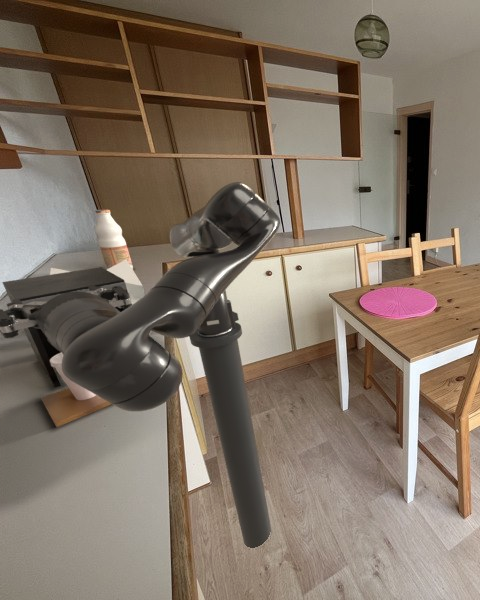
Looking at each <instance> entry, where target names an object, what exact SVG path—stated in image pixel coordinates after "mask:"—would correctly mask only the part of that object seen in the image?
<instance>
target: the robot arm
mask: <svg viewBox="0 0 480 600" xmlns="http://www.w3.org/2000/svg"><path fill="white" fill-rule="evenodd" d="M280 226H281V219H280V216H279V215H278V214H277V213H276V212H275V210H274V209H273V208H272V207H271V206H269V204H267V202H266V201H264V199H263V198H262V197H260V195H259V194H258V193H257V192H256V191H254V190H253V188H251V186H249V185H247V184H245V183H244V182H241V181H235V182H232V183H228V184H226V185H224V186H223V187H221V188H220V189H218V191H216V192H215V193H214V194H213V195H212V196H211V198H210V199H209V200H208V201H207V202H206V203H205V205H204V206H203V207H201V208H199V209H198V210H197V211H195V212H194V213H192V215H190V217H188V218H187V219H185V220H184V221H183V222H181V223H175V224H174V225H173V226H172V227H171V228H170V231H169V242H170V245H171V247H172V249H173V252H175V253H176V255H178V256H179V257H182V258H186V259H183V260H181V261H180V262H178V263H176V264H174V265H173V266H172V267H170V269H169V270H167V271H166V273H164V274H163V275H162V277H161V278H160V279H159V280H157V282H155V284H154V285H153V286H152V288H150V290H148V292H147V293H145V296H144V297H143V298H141V299H140V300H139V301H137V302H136V303H134V304H133V305H132V302H131V299H130V296H129V293H128V292H127V291H125V290H124V289H123V288H122V287H121V286H114V287H112V290H106V288H102V287H96V286H94V285H90V286H88V288H89V291H87V292H69V293H64V294H61V295H58V296H56V297H54V298H52V299H50V300H49V301H48V302H36V301H34V302H31V303H28V304H23V303H22V302H21V301H20V299H19V298H18V299H13V300H12V301H13V303H12V302H8V303H6V306H7V308H8V309H6V310H4V309H2V308H0V335H2V337H4V339H12V338H15V337H17V336H19V335H20V334H19V333H21V332H22V330H24V328H28V327H34V328H36V329H41V330H42V332H43V333H44V334H45V336H46V337H47V338H48V342H49V343H50V344H51V345H52V346H54V347H55V348H56V349H57V350H59V351H60V352H62V354H63V359H62V371H63V373H64V375H65V376H66V377H67V378H68V379H70V380H71V381H73V382H74V383H76V384H78V385H80V386H81V387H83V388H85V389H87V390H89V391H90V392H92V393H94V394H95V395H97V396H99V397H101V398H102V399H104V400H106V401H108V402H109V403H111V405H113V406H115V407H116V408H119V409H121V410H123V411H127V412H137V413H138V412H144V411H145V412H146V411H149V410H152V409H155V408H158V407H159V406H162V405H164V404H165V403H166V402H167V401H169V400H170V399H172V397H173V396H174V395H175V394H176V393H177V391H178V390H179V388H180V386H181V384H182V381H183V373H184V372H183V367H182V364H181V362H180V360H179V359H178V358H177V357H176V356H175V355H174V354H173V353H171V352H170V351H169V350H167V349H166V348H165V347H164V346H163V345H161V344H160V343H159V342H157V341H156V340H155V339H154V338H153V337H151V335H150V333H151V332H153V333H156V334H157V335H161V336H163V337H166V338H171V339H185V338H189V336H190V335H192V334H193V333H195V332H196V331H197V329H198V334H199V336H201V337H205V338H213V337H219V336H222V335H225V334H227V333H229V332H231V331H232V330H233V329H235V322H238V321H239V313H238V312H235V311H234V310H233V307H232V301H231V300H230V299H228V296H227V291H226V290H227V289H228V288H229V287H230V285H231V284H232V283H233V282H234V281H235V280H236V279H237V278H238V277H239V276H240V274H242V273H243V272H244V270H245V269H246V268H247V267H249V265H250V264H251V263H252V262H253V261H254V260H255V259H256V257H258V255H259V254H260V253H261V252H262V251H264V249H265V248H266V246H267V245H268V244H269V243H270V242H271V240H272V239H273V238H274V237H275V236H276V234H277V233H278V231H279V229H280ZM232 244H235V245H236V247H235V248H232V249H230V250H226V251H220V250H223V249H226V248H228V247H230V246H231V245H232ZM110 300H111V301H110ZM115 307H118V308H123V309H125V310H124V311H122V312H120V311H119V310H117V309H116V308H115ZM39 308H41V309H39Z"/></svg>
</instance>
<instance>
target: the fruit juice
mask: <svg viewBox="0 0 480 600" xmlns="http://www.w3.org/2000/svg"><path fill="white" fill-rule="evenodd" d="M94 212H95V214H96V215H97V219H96V224H95V227H94V232H95V234H96V235H97V237H98V240H97V241H98V247H99V249H100V252H101V255H102V259H103V262H104V264H105V267H106V270H107V269H109V268H111V267H113V266H115V265H116V264H118V263H120V262H122V261H124V260H127V261H128V263H129V265H130V266H131V268H132V269H133V270H134V266H133V262H132V259H131V255H130V251H129V248H128V244H127V242H126V239H125V238H124V237H123V229H122V227H121V226H120V225H119V224H118V223H117V222H116V220H115V219H114V218H113V217H112V215H111V210H110V209H95V211H94Z"/></svg>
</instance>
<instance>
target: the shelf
mask: <svg viewBox="0 0 480 600" xmlns="http://www.w3.org/2000/svg"><path fill="white" fill-rule="evenodd" d="M90 285H94V286H96V287H102V288H106V290H112V287H114V286H121V287H122V288H123V289H124V290H125V291H127V288H126V284H125V281H124V280H123V279H122V278H120V277H118V276H116V275H115V274H113V273H111V272H109V271H107V268H106V269H105V268H104V267H102V266H99V267H92V268H86V269H80V270H73V271H71V272H65V273H59V274H52V275H50V274H46V275H40V276H33V277H27V278H21V279H14V280H8V281H2V286H3V287H4V289H5V292H6V294H7V296H8V298H9V301H10V303H13V301H12V300H13V299H18V298H19V299H20V301H21V302H22V303H23V304H28V303H31V302H34V301H36V302H48V301H49V300H50V299H52V298H54V297H56V296H58V295H61V294H64V293H69V292H87V291H89V288H88V286H90ZM127 292H128V291H127ZM110 301H111V300H110ZM115 308H116V309H117V310H119V311H120V312H122V311H124V310H125V309H123V308H118V307H115ZM39 309H41V308H39ZM23 331H24V333H25V336H26V338H27V340H28V342H29V344H30V346H31V348H32V351H33V353H34V355H35V357H36V360H37V362H38V363H39V366H40V367H41V368H42V370H43V371H44V373H45V375H46V376H47V379H49V381H50V382H51V385H52V386H53V388H54V389H56V388H60V387H62V384H61V382H60V380H59V377H58V375H57V372H56V369H55V367H52V366H51V363H50V359H51V358H52V357H53V356H55V355H57V354H59V353H61V352H60V351H59V350H57V349H56V348H55V347H54V346H52V345H51V344H50V343H49V342H48V338H47V337H46V336H45V334H44V333H43V332H42V330H41V329H36V328H34V327H28V328H24V329H23Z"/></svg>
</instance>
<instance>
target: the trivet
mask: <svg viewBox="0 0 480 600" xmlns="http://www.w3.org/2000/svg"><path fill="white" fill-rule="evenodd" d="M40 400H41V401H42V403H43V405H44V407H45V409H46V410H47V413H48V415H49V416H50V418H51V420H52V422H53V424H54V425H55V428H59V427H61V426H63V425H65V424H68V423H70V422H73V421H75V420H78V419H80V418H83V417H85V416H86V415H89V414H92V413H94V412H97V411H99V410H101V409H104V408H107V407H108V406H111V405H112V404H111V403H109V402H108V401H106V400H104V399H102V398H101V397H99V396H97V395H96V396H94V397H92V398H89V399H86V400H77V399H76V398H75V396H74V395H73V393H72V392H71V390H70V389H69V387H67V388H65V389H62V390H59V391H56V392H53V393H50V394H48V395H45V396H43V397H40Z"/></svg>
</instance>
